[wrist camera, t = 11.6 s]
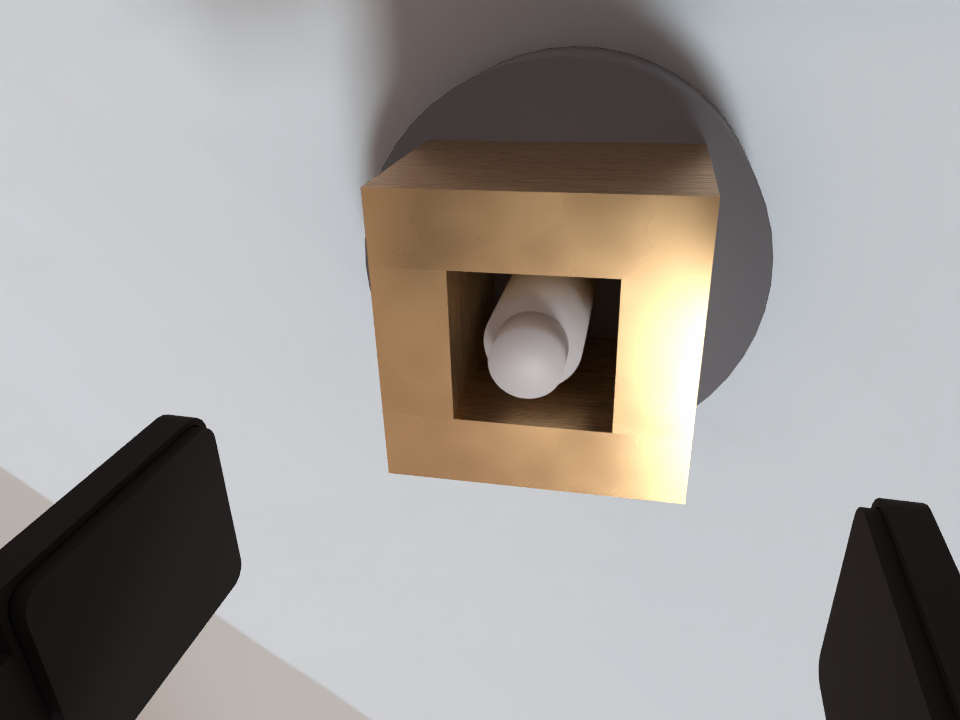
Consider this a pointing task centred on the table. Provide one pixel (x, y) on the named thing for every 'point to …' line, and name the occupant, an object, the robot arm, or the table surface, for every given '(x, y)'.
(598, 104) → the hub
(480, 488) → the table surface
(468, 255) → the collar
